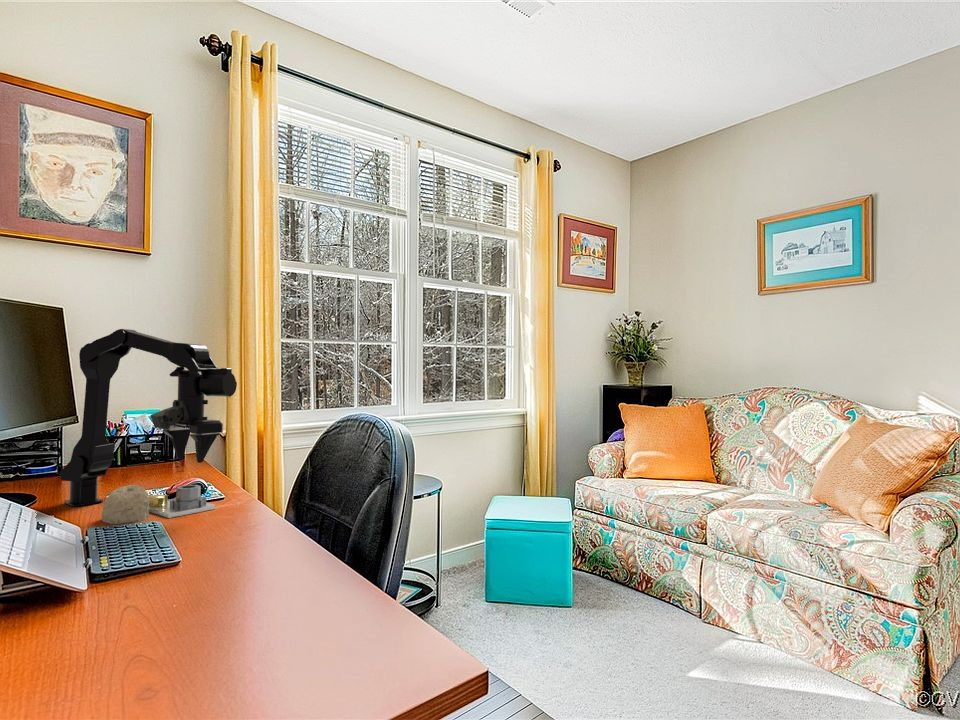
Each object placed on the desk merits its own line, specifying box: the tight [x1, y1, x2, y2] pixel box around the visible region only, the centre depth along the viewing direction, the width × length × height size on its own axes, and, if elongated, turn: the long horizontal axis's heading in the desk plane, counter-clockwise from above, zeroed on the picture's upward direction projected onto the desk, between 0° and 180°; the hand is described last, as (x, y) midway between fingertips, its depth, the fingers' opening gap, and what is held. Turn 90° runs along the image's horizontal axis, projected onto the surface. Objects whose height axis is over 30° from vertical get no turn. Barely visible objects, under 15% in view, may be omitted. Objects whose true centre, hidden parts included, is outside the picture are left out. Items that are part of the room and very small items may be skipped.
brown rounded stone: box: [101, 484, 150, 525], centre depth 129 cm, size 9×10×10 cm
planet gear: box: [169, 484, 207, 510], centre depth 138 cm, size 8×8×4 cm
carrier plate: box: [148, 494, 216, 519], centre depth 138 cm, size 13×12×4 cm
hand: (189, 460), depth 138 cm, fingers open, 9 cm apart
